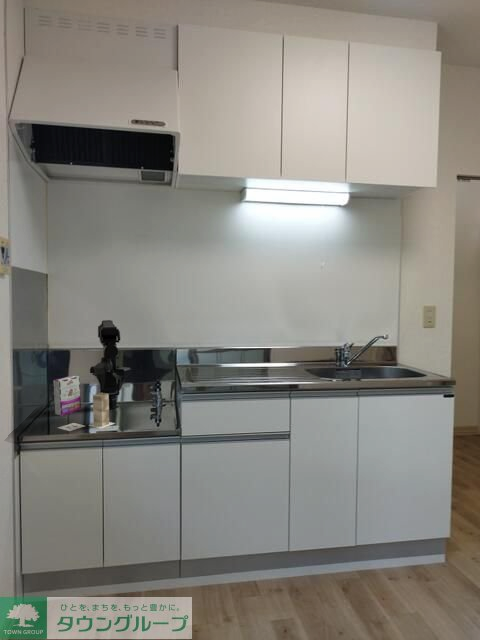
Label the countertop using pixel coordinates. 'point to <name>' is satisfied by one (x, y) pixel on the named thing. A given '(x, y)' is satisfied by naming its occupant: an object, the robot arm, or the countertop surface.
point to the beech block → (101, 409)
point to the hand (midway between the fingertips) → (110, 389)
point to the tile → (71, 426)
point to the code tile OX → (101, 426)
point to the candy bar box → (67, 395)
